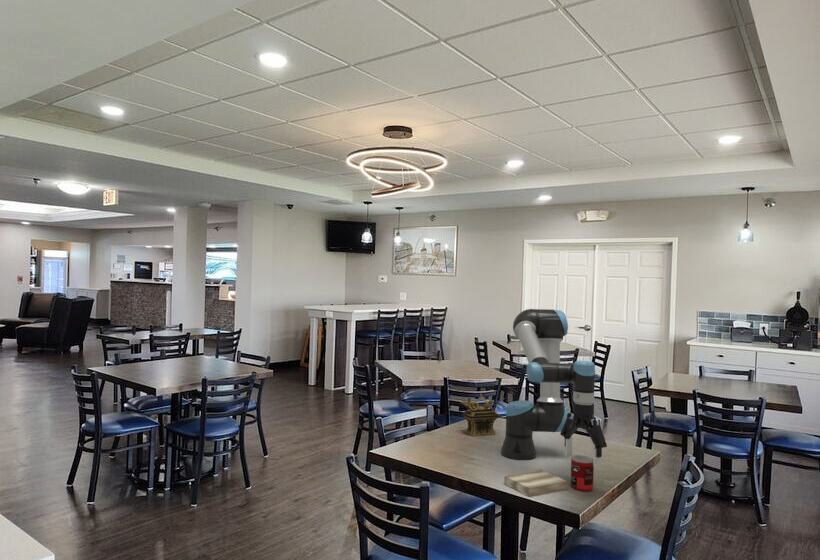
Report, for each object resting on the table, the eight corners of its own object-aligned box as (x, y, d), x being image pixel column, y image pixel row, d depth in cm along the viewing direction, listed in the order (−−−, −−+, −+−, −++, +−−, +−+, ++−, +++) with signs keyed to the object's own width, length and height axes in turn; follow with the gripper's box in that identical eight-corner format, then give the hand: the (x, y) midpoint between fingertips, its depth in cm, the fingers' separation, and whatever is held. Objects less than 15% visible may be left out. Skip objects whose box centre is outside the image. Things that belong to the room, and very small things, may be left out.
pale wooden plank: (504, 484, 208) (504, 476, 208) (540, 477, 217) (540, 469, 217) (529, 496, 195) (530, 488, 196) (567, 489, 204) (567, 481, 204)
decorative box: (489, 430, 289) (491, 392, 289) (499, 435, 280) (500, 395, 280) (455, 432, 281) (456, 393, 282) (463, 437, 272) (465, 397, 273)
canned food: (570, 483, 211) (571, 454, 212) (592, 486, 209) (593, 456, 209) (570, 490, 204) (571, 459, 204) (593, 493, 202) (594, 462, 202)
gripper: (552, 398, 216) (550, 453, 215) (603, 410, 194) (601, 471, 194) (566, 396, 220) (564, 451, 219) (617, 408, 198) (616, 469, 197)
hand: (582, 461), depth 206 cm, fingers open, 13 cm apart
